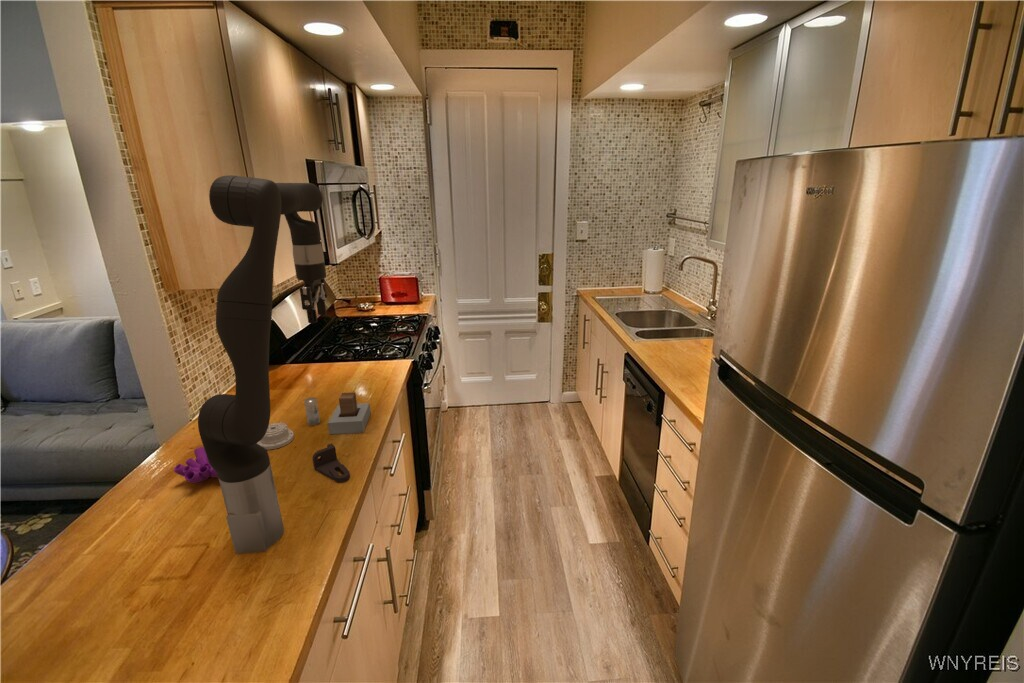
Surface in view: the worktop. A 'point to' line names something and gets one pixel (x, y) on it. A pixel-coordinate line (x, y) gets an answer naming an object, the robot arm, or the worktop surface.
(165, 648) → the worktop surface
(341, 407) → the walnut peg
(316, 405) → the grey metallic cylinder
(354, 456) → the worktop surface
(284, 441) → the mechanical component
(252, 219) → the robot arm
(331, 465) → the bracket
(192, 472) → the purple coral piece
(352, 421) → the socket block
